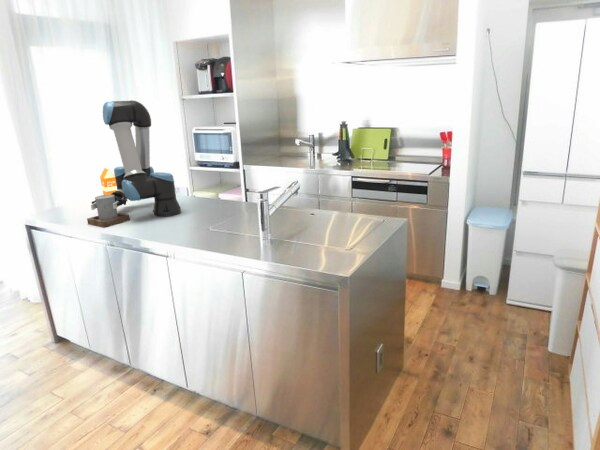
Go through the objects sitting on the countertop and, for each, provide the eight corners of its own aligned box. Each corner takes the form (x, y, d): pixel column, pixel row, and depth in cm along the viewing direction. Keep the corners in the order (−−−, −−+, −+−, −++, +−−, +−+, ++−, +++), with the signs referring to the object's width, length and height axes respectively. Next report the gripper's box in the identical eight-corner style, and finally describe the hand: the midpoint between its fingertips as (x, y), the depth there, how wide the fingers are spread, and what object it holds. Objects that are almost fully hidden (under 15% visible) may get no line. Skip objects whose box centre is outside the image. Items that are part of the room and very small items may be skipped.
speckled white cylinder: (121, 216, 228) (117, 194, 224) (112, 221, 219) (108, 198, 215) (105, 216, 229) (101, 194, 225) (95, 221, 220) (90, 198, 216)
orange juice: (115, 196, 285) (110, 167, 279) (119, 198, 279) (114, 168, 273) (103, 198, 280) (98, 169, 274) (107, 200, 274) (102, 170, 268)
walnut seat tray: (130, 220, 226) (129, 214, 225) (104, 227, 214) (103, 222, 213) (113, 216, 234) (112, 211, 233) (88, 224, 222) (86, 218, 221)
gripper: (140, 202, 240) (126, 212, 219) (99, 204, 239) (81, 214, 218) (137, 189, 238) (124, 198, 217) (96, 191, 237) (79, 201, 216)
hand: (102, 206), depth 217 cm, fingers open, 11 cm apart
